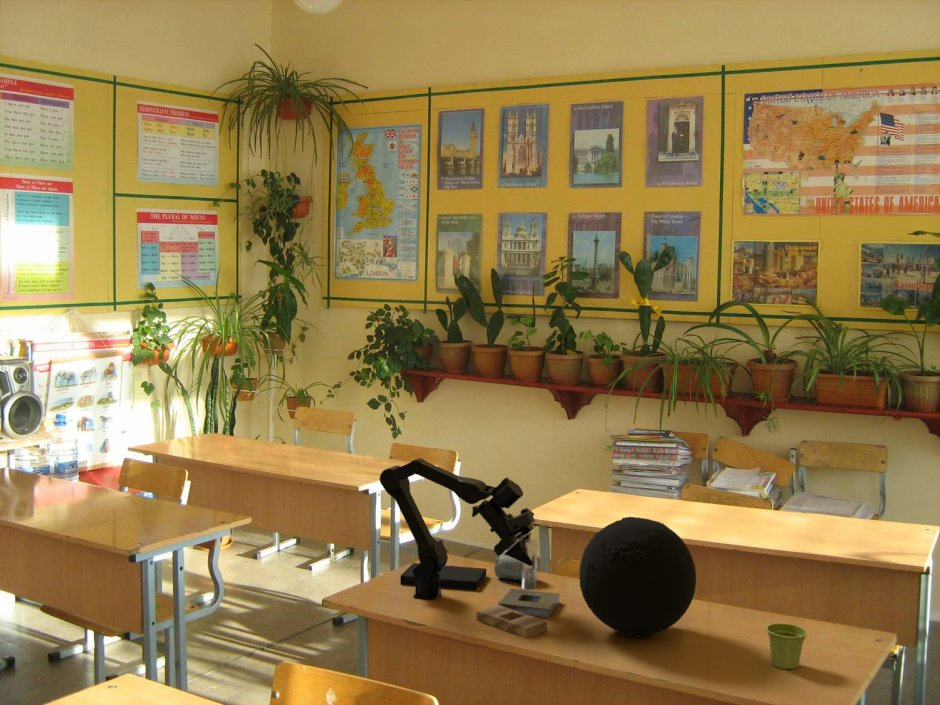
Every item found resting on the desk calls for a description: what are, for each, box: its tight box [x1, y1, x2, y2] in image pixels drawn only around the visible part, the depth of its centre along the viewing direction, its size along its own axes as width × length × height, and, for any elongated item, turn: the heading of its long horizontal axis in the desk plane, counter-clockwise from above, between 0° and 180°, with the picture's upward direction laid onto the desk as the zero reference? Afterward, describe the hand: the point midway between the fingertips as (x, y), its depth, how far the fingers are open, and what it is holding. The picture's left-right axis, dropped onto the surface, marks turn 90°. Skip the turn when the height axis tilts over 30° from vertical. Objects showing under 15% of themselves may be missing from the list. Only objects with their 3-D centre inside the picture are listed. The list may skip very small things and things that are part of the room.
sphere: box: [578, 516, 697, 638], centre depth 265 cm, size 30×30×30 cm
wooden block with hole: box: [475, 604, 548, 639], centre depth 270 cm, size 18×8×2 cm, turn 44°
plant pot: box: [766, 622, 808, 670], centre depth 245 cm, size 9×9×9 cm
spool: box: [493, 551, 539, 582], centre depth 311 cm, size 14×10×10 cm
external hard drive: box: [399, 562, 487, 591], centre depth 309 cm, size 14×23×3 cm, turn 78°
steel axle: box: [521, 538, 538, 591], centre depth 282 cm, size 4×4×13 cm
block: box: [497, 588, 560, 619], centre depth 285 cm, size 14×14×2 cm
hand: (534, 562), depth 281 cm, fingers closed on steel axle, 4 cm apart
